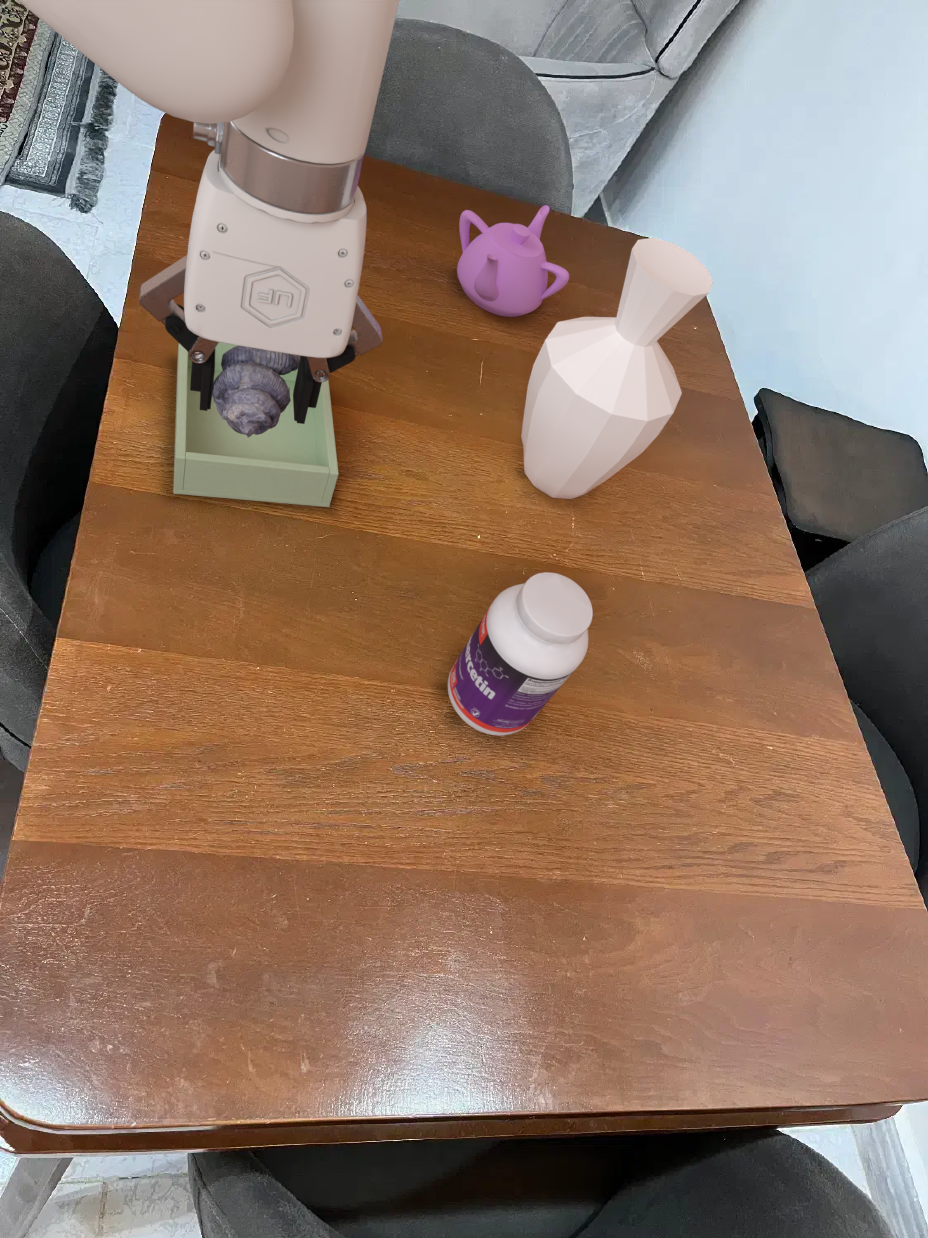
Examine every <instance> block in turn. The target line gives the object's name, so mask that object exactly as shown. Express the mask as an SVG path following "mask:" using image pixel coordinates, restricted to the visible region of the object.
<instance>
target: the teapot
mask: <svg viewBox="0 0 928 1238" xmlns="http://www.w3.org/2000/svg"><path fill="white" fill-rule="evenodd" d="M549 213H550V206H549V205H547V204H544V205H542V207H540V209H538V212H537V213H536V214H535V217H534V218H533V219H532V221H531V222H530V223H529V225H528V226H526V225H523V224H521V223H512V222H499V223H495V224H494V225H492V226H490V227H489V226H488V225H487V224H486V222H485V221H484V220H483V219H482V218H481V217H480V216H479V215H478V214H476V212H474V211H472V210H470V209H465V210H463V211H462V213H461V214H460V217H459V222H458V223H459V224H458V227H459V230H458V231H459V239H460V245H461V250H462V254H461V256H460V258H459V260H458V262H457V265H456V274H457V279H458V281H459V284H460V286H461V288H462V290H463V292H464V294H465V295H466V297H467V298H468V299H469V300H470V301H472V302H473V303H474V304H475V305H476V306H478V307H479V308H481V309H482V310H484V311H487V312H488V313H490V314H494V315H497V316H500V317H506V318H517V317H521V316H524V315H527V314H530V313H532V312H534V311H535V310H537V309H538V308H539V307H540V306H541V305H542V303H543V300H545V299H547V298H549V297H551V296H552V295H555V294H556V293H558V292H559V291H561V290H562V289H563V288H564V287H565V286H566V285H567V284H568V282H569V280H570V273H569V272H568V270H567V269H566V268H565V267H562V266H560V265H557V264H555V263H551V262H550V261H547V256H546V251H545V248H544V245H543V243H542V241H541V240H540V239H541V235H542V231H543V227H544V224H545V221H546V218H547V217H548V215H549ZM471 224H473V225H474V226H475V227H476V228H477V229H478V230H479V231H480V232H481V233H480V234H479V235H477V236H476V237H475V238H474V239H473V240H472V241H470V227H471ZM548 272H549V273H552V274H554V275H555V280H554V281H553V282H552V284H551V285H550V286H548V280H549V273H548Z"/></svg>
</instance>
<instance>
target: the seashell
mask: <svg viewBox="0 0 928 1238" xmlns="http://www.w3.org/2000/svg"><path fill="white" fill-rule="evenodd" d="M300 357H301V356H300V355H293V354H287V353H281V352H274V351H268V350H262V349H256V348H250V347H244V346H236V347H233V348H232V349H230V350H228V351H227V352H226V353H224V354H223V356H222V362H221V367H222V370H223V371H222V372H221V373H220V374H219V375H218V376H217V378H216V379H215V381H214V383H213V391H212V396H213V399H214V403H215V404H216V406H217V411H218V413H219V415H220V417H221V418H222V419H223V420H224V419H225V420H226V421H227V423H228V425H229V426H230V427H231V428H232V429H233V430H234V431H235V432H237V433H240V434H244V435H246V436H247V437H248V438H249V437H250V436H251V435H253V434H255V435H259V434H262V433H264V432H266V431H267V430H268V429H271V428H273V427H275V426H276V425H277V424H278V421H279V418H280V414H281V413H282V412H283V411H284V410H285V409H286V407H287V406H288V404H289V403H290V401H291V400H290V388H289V387H288V386H287V384H286V382H285V380H284V379H283V378H282V377H281V376H280V375H285V374H288V373H290V372H291V371H296V370H297V369H298V367H299V362H300Z"/></svg>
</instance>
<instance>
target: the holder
mask: <svg viewBox="0 0 928 1238" xmlns="http://www.w3.org/2000/svg"><path fill="white" fill-rule="evenodd" d="M177 346H178V347H177V362H176V390H175V391H176V394H175V421H174V422H175V424H174V427H175V428H174V454H173V455H174V457H173V458H174V459H173V491H172V493H173V494H174V495H185V496H186V495H187V496H197V497H207V498H220V499H231V500H242V501H243V500H244V501H254V502H263V503H265V502H266V503H278V504H286V505H287V504H288V505H299V506H310V507H311V506H312V507H322V508H330V507H331V501H332V498H333V495H334V492H335V488H336V484H337V481H338V478H339V473H340V472H339V465H338V456H337V446H336V437H335V428H334V427H335V426H334V418H333V410H332V399H331V389H330V380H329V379H328V380H327V381H325V382H322V385H321V389H320V393H319V397H318V401H317V406H316V408H310V407H308V411H307V415H306V419H305V423H304V424H300V423H297V421H294V407H293V391H294V386H295V381H296V376H297V372H298V369H297V370H296V371H291V372H290V373H288V374H285V375H280V376H281V377H282V378H283V379H284V380H285V382H286V384H287V386H288V387H289V388H290V400H291V401H290V403H289V404H288V406H287V407H286V409H285V410H284V411H283V412H282V413H281V414H280V418H279V421H278V424H277V425H276V426H275V427H273V428H271V429H268V430H267V431H266V432H264V433H262V434H259V435H255V434H253V435H251V436H250V437H249V438H248V437H247V436H246V435H244V434H240V433H237V432H235V431H234V430H233V429H232V428H231V427H230V426H229V425H228V423H227V421H226V420H225V419H224V420H223V419H222V418H221V417H220V415H219V413H218V411H217V406H216V404H215V403H214V399H213V396H212V400H211V409H207V411H204V410H200V392H198V391H191V390H190V382H191V368H192V361H191V360H190V358H189V352H188V351H187V350H186V349H185V348H184V347H183V346H182V345H181V344H179V343H178V345H177ZM236 346H238V345H232V344H226V343H221V342H219V343H218V345H217V346H216V348H215V372H214V381H215V379H216V378H217V376H218V375H219V374H220V373H221V372H222V371H223V370H222V367H221V362H222V356H223V354H224V353H226V352H227V351H228V350H230V349H232V348H233V347H236ZM213 383H214V382H213Z"/></svg>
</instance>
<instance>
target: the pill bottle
mask: <svg viewBox="0 0 928 1238" xmlns="http://www.w3.org/2000/svg"><path fill="white" fill-rule="evenodd" d="M593 613H594V612H593V605H592V603H591V600H590V597H589V596H588V594H587V593H586V592H585V590H584V589H583V588H582V587H581V586H580V585H579V584H578V583H577V582H575V580H573V579H572V578H569V577H567V576H565V575H562V574H560V573H557V572H551V571H550V572H545V571H544V572H539V573H535V574H534V575H532V576H531V577H529V578H528V579H527V580H526V581H525V582H524V583H520V584H515V585H513V586H510V587H507V588H505V589H503V590H502V591H501V592H500V593H499V594H498V595H497V596H496V597H495V598H494V599H493V600H492V603H491V604H490V605H489V607H488V609H487V610H486V612H485V614H484V615H483V617H482V618H481V620H480V622H479V623H478V625H477V627H476V628H475V629H474V631H473V632H472V634H471V636H470V638H469V639H468V641H467V643H466V644H465V646H464V647H463V649H462V650H461V652H460V653H459V655H458V657H457V659H456V660H455V661H454V663H453V665H452V666H451V669H450V671H449V675H448V679H447V693H448V697H449V700H450V703H451V705H452V708H453V709H454V711H455V712H456V713H457V715H458V716H459V717H460V718H461V720H462V721H463V722H465V724H467V725H468V726H470V727H471V728H473V729H474V730H476V731H477V732H480V733H484V734H486V735H491V736H498V737H499V736H509V735H512V734H515V733H518V732H520V731H522V730H523V729H525V728H526V727H528V726H529V724H531V722H532V721H533V720H534V719H535V718H536V716H538V714H539V713H540V712H541V711H542V709H543V708H544V707H545V706H546V705H547V703H548V702H549V701H550V700H551V699H552V698H553V696H555V694H556V693H557V692H558V690H559V689H560V688H561V687H562V686H563V684H565V682H566V681H567V680H568V679H569V678H570V677H571V676H572V674H573V673H574V672H575V671H576V669H577V668H579V666H580V665H581V664H582V662H583V660H584V658H585V657H586V655H587V651H588V648H589V627H590V625H591V624H592V620H593V616H594V614H593Z"/></svg>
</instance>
